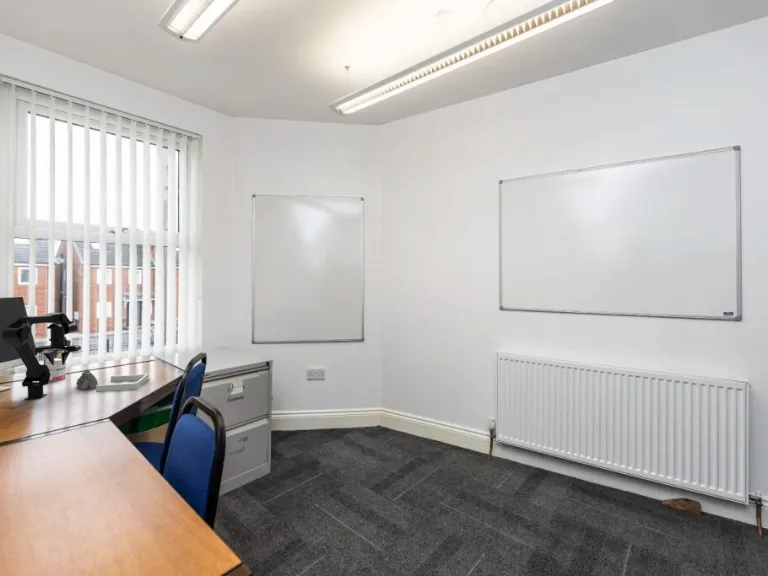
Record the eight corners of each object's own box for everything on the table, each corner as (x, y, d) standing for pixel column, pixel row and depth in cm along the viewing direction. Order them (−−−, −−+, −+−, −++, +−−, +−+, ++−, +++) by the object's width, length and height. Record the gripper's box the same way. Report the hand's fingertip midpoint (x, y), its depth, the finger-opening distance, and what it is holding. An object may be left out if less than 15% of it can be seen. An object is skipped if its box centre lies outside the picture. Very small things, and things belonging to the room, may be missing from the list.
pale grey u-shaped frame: (136, 388, 204) (136, 383, 204) (96, 391, 199) (95, 385, 198) (148, 378, 222) (148, 373, 222) (111, 381, 217) (111, 375, 217)
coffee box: (56, 372, 234) (55, 346, 233) (43, 372, 232) (42, 347, 231) (63, 368, 242) (63, 343, 242) (51, 368, 241) (51, 344, 240)
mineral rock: (77, 385, 209) (77, 367, 208) (101, 382, 214) (101, 365, 213) (72, 391, 197) (71, 373, 197) (97, 389, 203) (97, 370, 202)
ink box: (66, 378, 220) (66, 358, 220) (58, 381, 215) (57, 360, 215) (53, 377, 221) (52, 358, 221) (44, 380, 216) (44, 360, 216)
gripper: (85, 333, 211) (86, 360, 212) (45, 334, 206) (46, 362, 207) (75, 336, 200) (75, 365, 201) (32, 337, 195) (33, 367, 196)
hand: (58, 364), depth 201 cm, fingers open, 4 cm apart
